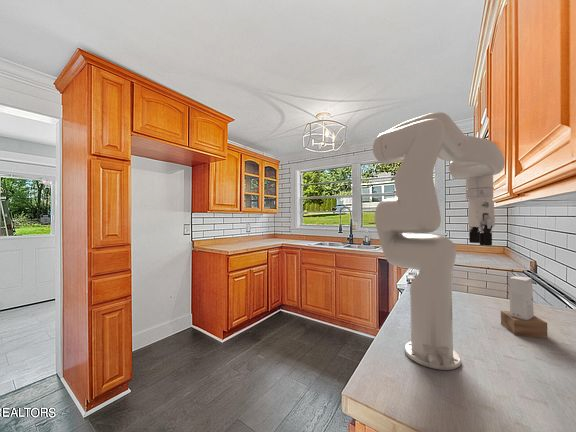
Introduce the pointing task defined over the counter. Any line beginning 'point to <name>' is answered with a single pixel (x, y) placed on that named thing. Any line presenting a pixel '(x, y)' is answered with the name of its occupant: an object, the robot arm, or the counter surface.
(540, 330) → the brown wooden block
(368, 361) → the counter surface
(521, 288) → the skincare box
